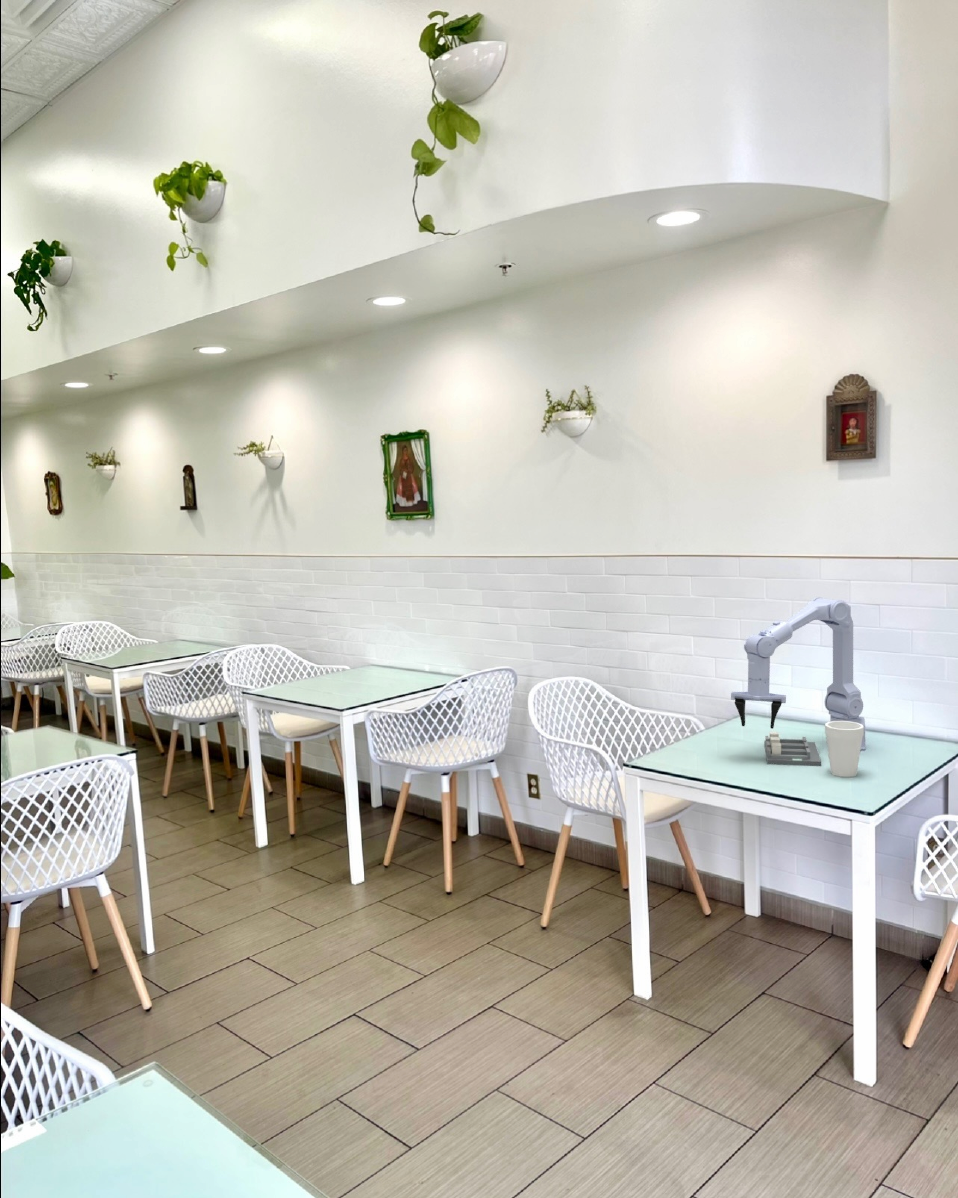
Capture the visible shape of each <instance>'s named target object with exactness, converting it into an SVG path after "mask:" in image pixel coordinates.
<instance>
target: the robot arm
mask: <svg viewBox="0 0 958 1198" xmlns="http://www.w3.org/2000/svg"><path fill="white" fill-rule="evenodd" d="M851 614H852V613H851V605H849V603H847V602H846V601H845V600H842V599H830V598H823V597H819V596H818V597H817V596H816V597H815V598H813V599H812V600H810V601H808V602H807V605H806V606H804V607H803V608H801V610H799V611H798V612H796V613H795V614H794V615H792V616H790V618H789V619H787V620H785V621H784V620H775V621H773V622H772V625H770V626H768V627H767V628H766V629H762V630H761V631H760V632H759V633H758V634H752V635H750V636H748V637H747V639H746V641H745V643H744V644H743V649H744V652H745V653H746V659H747V660H748V661H747V662H748V663H747V669H748V670H747V691H731V692H730V700H733V701H734V705H735V708H736V709H737V712H738V714H739V717H740V722H741V727H745V726H746V701H751V702H752V701H753V702H768V703H771V704H770V708H771V709H770V711H771V713H770V715H771V716H770V717H771V718H770V726H769V727H770V729H774V727H775V720H776V718H777V715H778V713H779V711H780V708H781V707H782V704H786V703H787V695H785V694H778V693H770V677H771V676H770V674H771V673H770V671H771V670H770V667H771V666H770V665H771V656H773V655H774V653H775V651H776V649H778V647H779V646H781V645H782V644H785V642H787V641H789V640H791V639H792V637H793V633H794V632H795V631H797V630H799V629H800V628H802V627H805V626H806V625H808V624H809V623H811V622H814V621H820V622H822V623H825V625H827V626H828V627H829V628H830V629H831V630H832V683H831V684H830V685H828V687H827V688H826V696H825V698H824V706H825V709H826V710H827V711H828V715H830V717H829V719H830V721H829V722H832V721H850V722H856V723H859V724H862V725H863V727H864V736H863V737H862V743H861V750H860V751H863V750H864V751H865V750H866V720H865V716H860V715H861V714H862V712H863V710H864V701H863V699H862V694H861V693H862V692H861V690H860V689H859V688H858V687H857V685H855V684H854V620H853V619H852V616H851Z"/></svg>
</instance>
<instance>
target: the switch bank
mask: <svg viewBox="0 0 958 1198" xmlns="http://www.w3.org/2000/svg"><path fill="white" fill-rule="evenodd" d="M764 736H765V739H764V749H765V756H766V763H767V765H783V766H785V765H787V766H788V765H789V766H810V767H811V766H813V767H815V766H816V767H822V760H821V757H820V753H819V751H818V748H817V745H816V743H815V742H814V741H807V738H806V736H802V738H801V739H799V738H798V739H796V738H780V743H781V755H775V754H771V748H770V743H769V735H764Z"/></svg>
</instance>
